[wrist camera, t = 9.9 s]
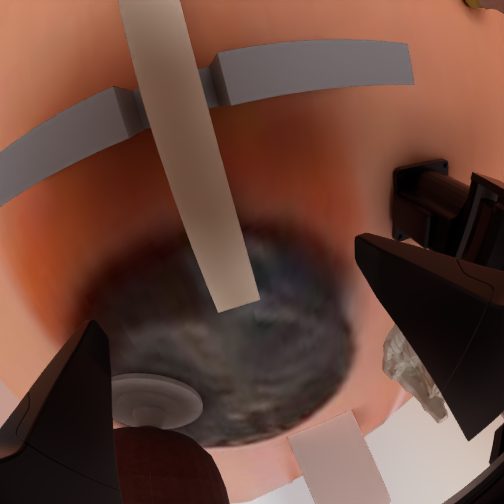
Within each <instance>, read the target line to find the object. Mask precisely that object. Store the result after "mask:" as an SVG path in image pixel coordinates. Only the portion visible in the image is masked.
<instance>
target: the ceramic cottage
mask: <svg viewBox="0 0 504 504" xmlns="http://www.w3.org/2000/svg"><path fill="white" fill-rule="evenodd" d="M383 355H384V357H383V372H384V373H385V374H386V375H387V376H388V377H389V378H390V379H391V380H394V381H395V380H397V381H398V382H399V383H400V384H401V386H402V387H403V388H404V389H405V391H407V392H409V393H410V394H412V395H414V396H415V398H416V399H417V400H418V401H419V402H420V403H421V405H422V407H423V408H424V410H425V411H426V412H428V413H429V414H430V415H431V416H432V417H433V418H434V419H435V421H436V422H437V423H441V422H443V421H444V420H445V419H447V418H448V414H447V410H446V409H445V406H444V403H445V402H446V401H445V400H444V398H443V396H442V395H441V393H440V391H439V389H438V388H437V386H436V385H435V383H434V381H433V380H432V378H431V376H430V375H429V373H428V372H427V370H426V369H425V367H424V365H423V364H422V362H421V361H420V359H419V358H418V356H417V355H416V353H415V352H414V350H413V349H412V347H411V346H410V344H409V343H408V341H407V340H406V338H405V337H404V335H403V334H402V332H401V331H400V329H399V328H398V327H397V325H396V324H395V325H394V326H393V328H392V329H391V331H390V333H389V334H388V336H387V338H386V340H385V342H384V354H383Z"/></svg>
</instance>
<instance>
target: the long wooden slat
mask: <svg viewBox="0 0 504 504" xmlns="http://www.w3.org/2000/svg"><path fill="white" fill-rule="evenodd" d="M118 3H119V7H120V12H121V17H122V21H123V26H124V30H125V35H126V39H127V43H128V47H129V51H130V55H131V59H132V63H133V67H134V71H135V74H136V78H137V82H138V85H139V89H140V92H141V96H142V100H143V103H144V106H145V110H146V113H147V117H148V120H149V123H150V127H151V130H152V133H153V136H154V139H155V143H156V146H157V149H158V152H159V155H160V158H161V161H162V164H163V167H164V170H165V173H166V176H167V179H168V182H169V185H170V188H171V191H172V194H173V197H174V199H175V202H176V205H177V208H178V211H179V213H180V216H181V219H182V222H183V224H184V227H185V230H186V232H187V235H188V238H189V240H190V243H191V246H192V248H193V251H194V254H195V256H196V259H197V261H198V264H199V266H200V269H201V271H202V274H203V276H204V279H205V281H206V284H207V286H208V289H209V291H210V294H211V296H212V299H213V301H214V303H215V306H216V308H217V311H218V313H219V312H222V311H225V310H228V309H232V308H235V307H238V306H241V305H245V304H248V303H251V302H254V301H257V300H260V298H259V294H258V290H257V287H256V283H255V279H254V276H253V272H252V269H251V265H250V261H249V258H248V254H247V250H246V247H245V243H244V239H243V236H242V232H241V228H240V225H239V221H238V217H237V214H236V210H235V206H234V203H233V199H232V195H231V192H230V188H229V184H228V181H227V177H226V173H225V170H224V166H223V162H222V158H221V155H220V151H219V147H218V144H217V140H216V136H215V132H214V129H213V125H212V121H211V117H210V114H209V110H208V106H207V102H206V99H205V95H204V91H203V87H202V84H201V80H200V76H199V72H198V69H197V65H196V61H195V57H194V53H193V50H192V46H191V42H190V38H189V34H188V31H187V27H186V23H185V19H184V15H183V11H182V7H181V4H180V0H118Z"/></svg>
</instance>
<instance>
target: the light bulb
mask: <svg viewBox="0 0 504 504" xmlns="http://www.w3.org/2000/svg"><path fill="white" fill-rule="evenodd" d="M465 1H466V3H467V4H468V5H469V6H470V7H472V8H485V9H495V10H498V11H500V12H502V13H503V14H504V0H465Z"/></svg>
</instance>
